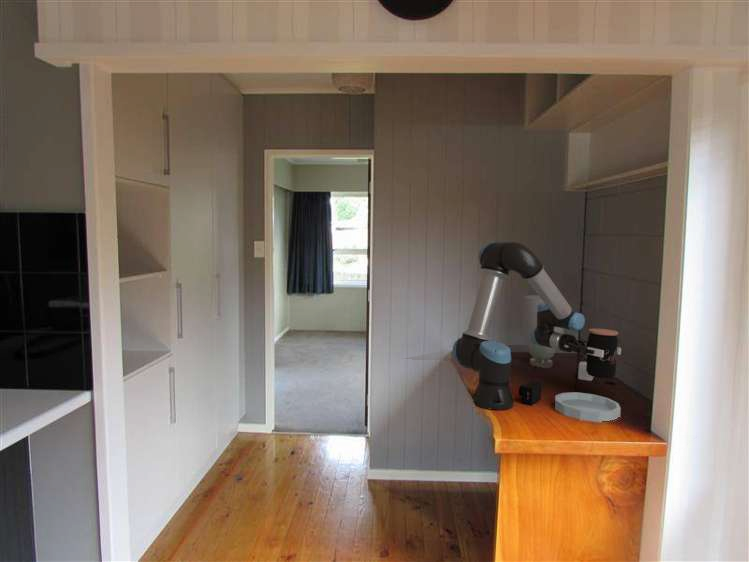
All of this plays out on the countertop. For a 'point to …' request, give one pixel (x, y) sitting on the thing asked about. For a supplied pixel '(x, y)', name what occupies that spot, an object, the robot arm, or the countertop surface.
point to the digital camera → (530, 393)
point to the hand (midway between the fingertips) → (611, 352)
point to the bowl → (587, 407)
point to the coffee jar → (607, 363)
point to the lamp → (530, 323)
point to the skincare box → (584, 372)
